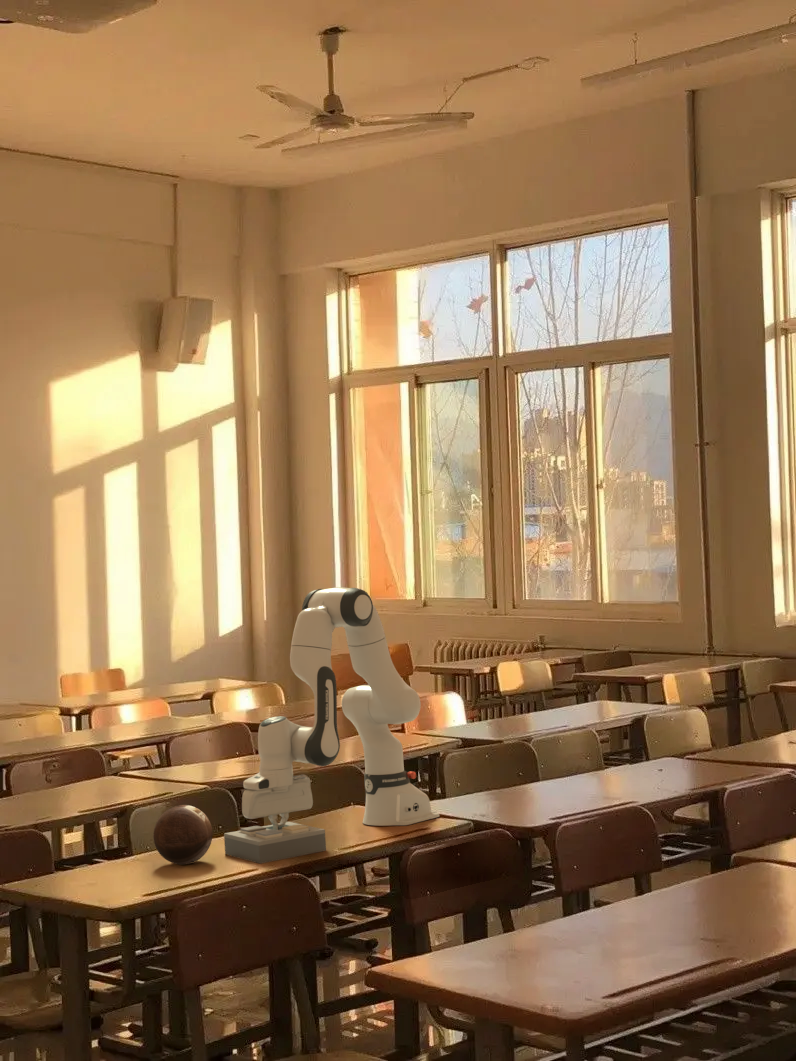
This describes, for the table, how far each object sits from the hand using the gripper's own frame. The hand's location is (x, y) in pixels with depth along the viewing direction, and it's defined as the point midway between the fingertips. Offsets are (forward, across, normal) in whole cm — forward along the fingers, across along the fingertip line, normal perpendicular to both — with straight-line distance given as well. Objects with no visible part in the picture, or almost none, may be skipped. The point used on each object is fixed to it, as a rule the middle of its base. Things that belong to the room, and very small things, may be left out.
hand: (279, 830), depth 398 cm
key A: (+1, +8, +8) cm, 11 cm away
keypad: (+5, +4, +4) cm, 7 cm away
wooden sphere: (+5, +27, -3) cm, 28 cm away
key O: (+1, +8, 0) cm, 8 cm away
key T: (+1, 0, +8) cm, 8 cm away
